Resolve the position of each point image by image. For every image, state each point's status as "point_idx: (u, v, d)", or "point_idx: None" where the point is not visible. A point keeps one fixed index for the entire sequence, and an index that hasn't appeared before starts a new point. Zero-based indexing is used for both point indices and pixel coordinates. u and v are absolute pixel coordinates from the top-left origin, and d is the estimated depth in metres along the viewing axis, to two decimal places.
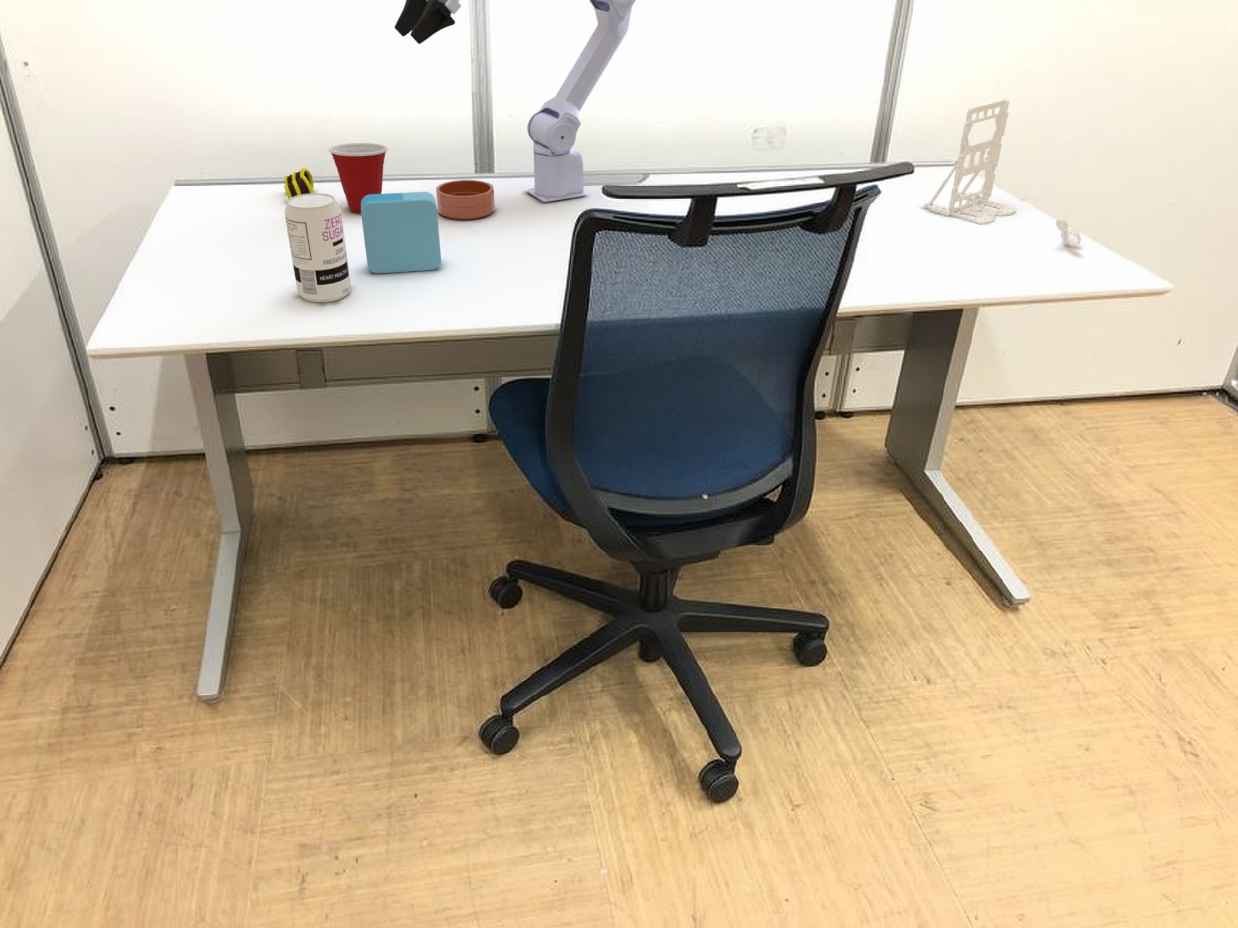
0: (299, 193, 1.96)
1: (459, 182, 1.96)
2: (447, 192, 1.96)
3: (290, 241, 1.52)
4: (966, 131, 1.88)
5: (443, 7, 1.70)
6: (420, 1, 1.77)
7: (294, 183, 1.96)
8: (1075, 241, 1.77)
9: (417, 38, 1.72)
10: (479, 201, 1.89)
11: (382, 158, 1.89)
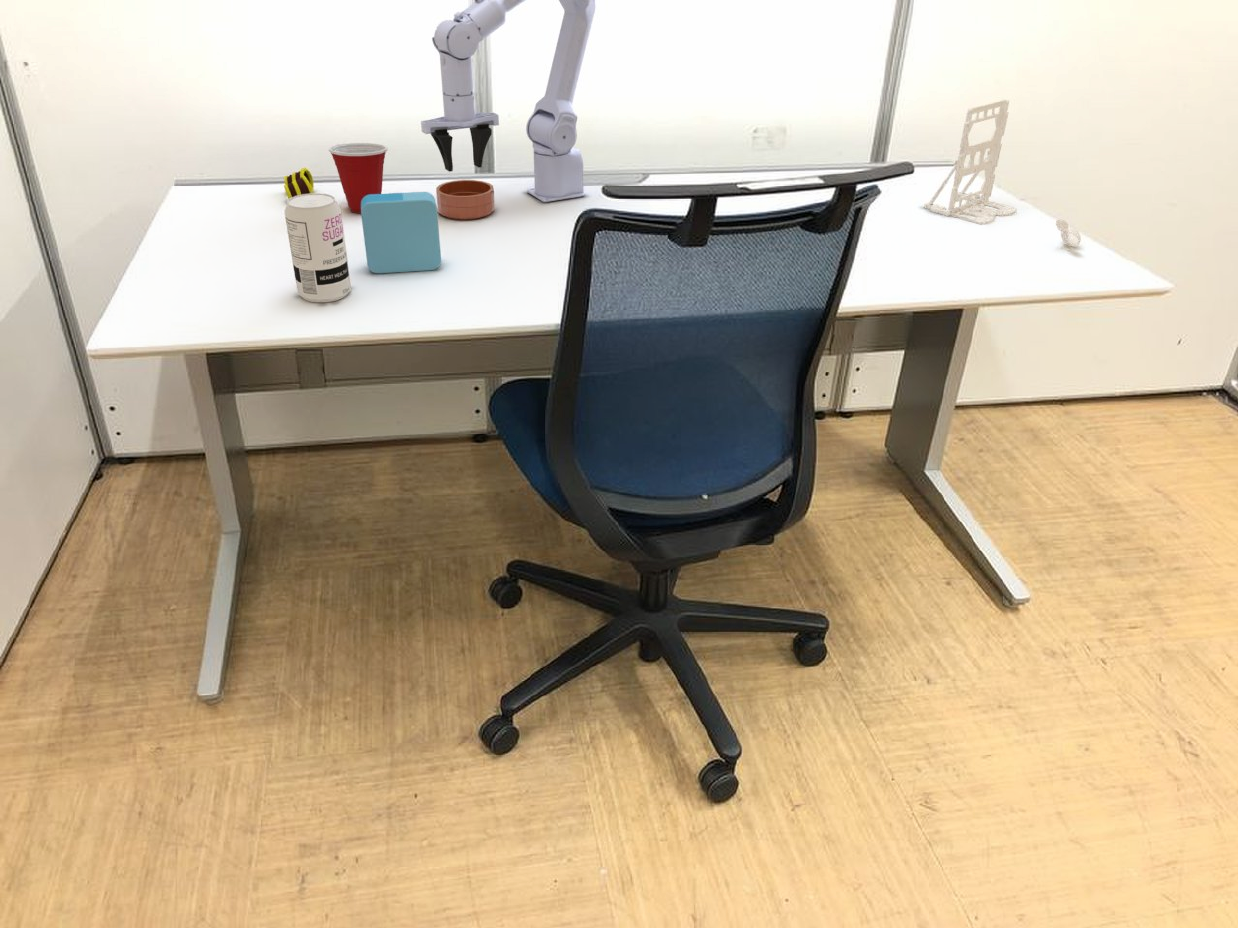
0: (299, 193, 1.96)
1: (459, 182, 1.96)
2: (447, 192, 1.96)
3: (290, 241, 1.52)
4: (966, 131, 1.88)
5: (488, 128, 1.88)
6: None
7: (294, 183, 1.96)
8: (1075, 241, 1.77)
9: None
10: (479, 201, 1.89)
11: (382, 158, 1.89)
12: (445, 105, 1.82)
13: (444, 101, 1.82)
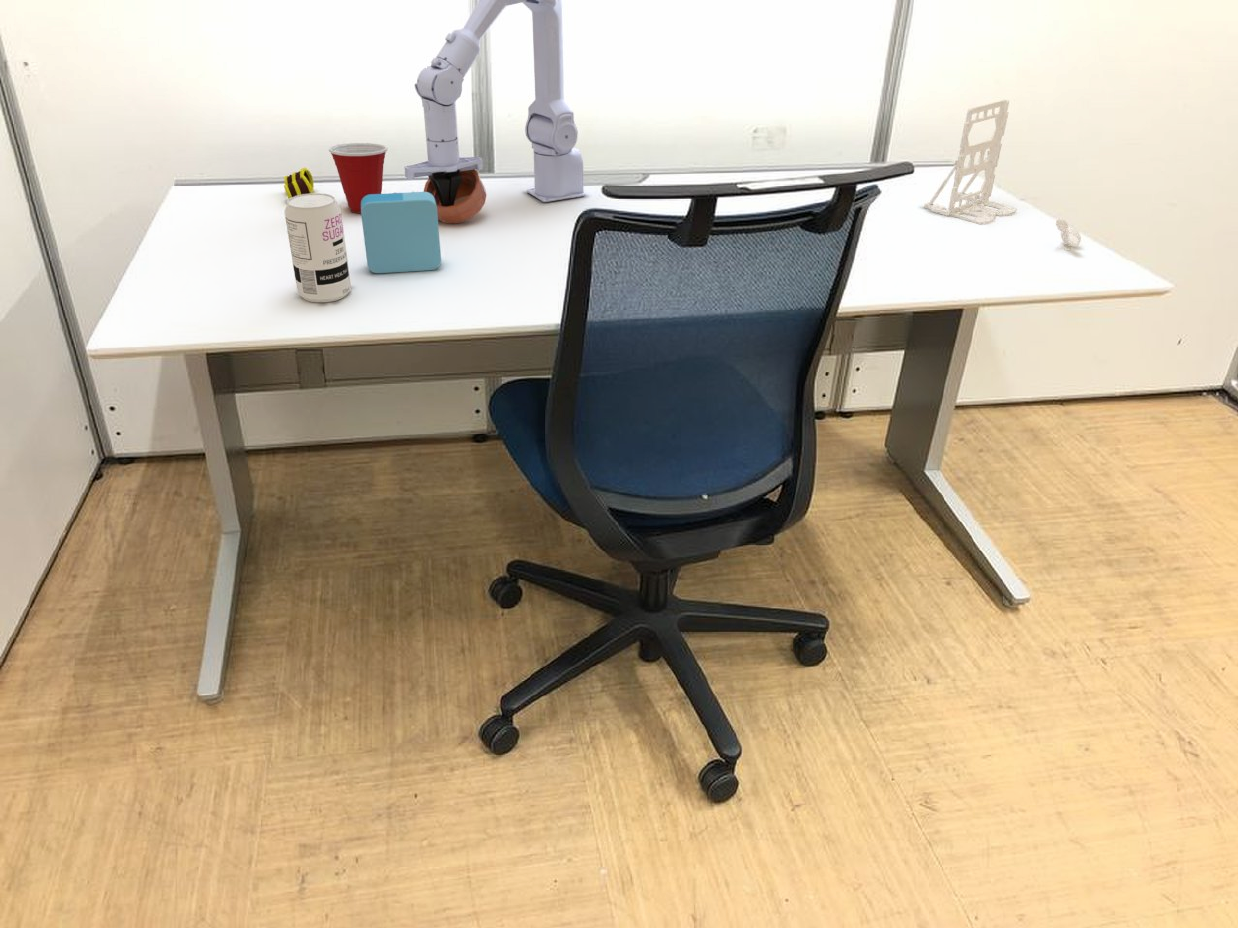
0: (299, 193, 1.96)
1: None
2: None
3: (290, 241, 1.52)
4: (966, 131, 1.88)
5: (459, 174, 1.86)
6: None
7: (294, 183, 1.96)
8: (1075, 241, 1.77)
9: None
10: (469, 205, 1.86)
11: (382, 158, 1.89)
12: (428, 150, 1.82)
13: (428, 146, 1.81)
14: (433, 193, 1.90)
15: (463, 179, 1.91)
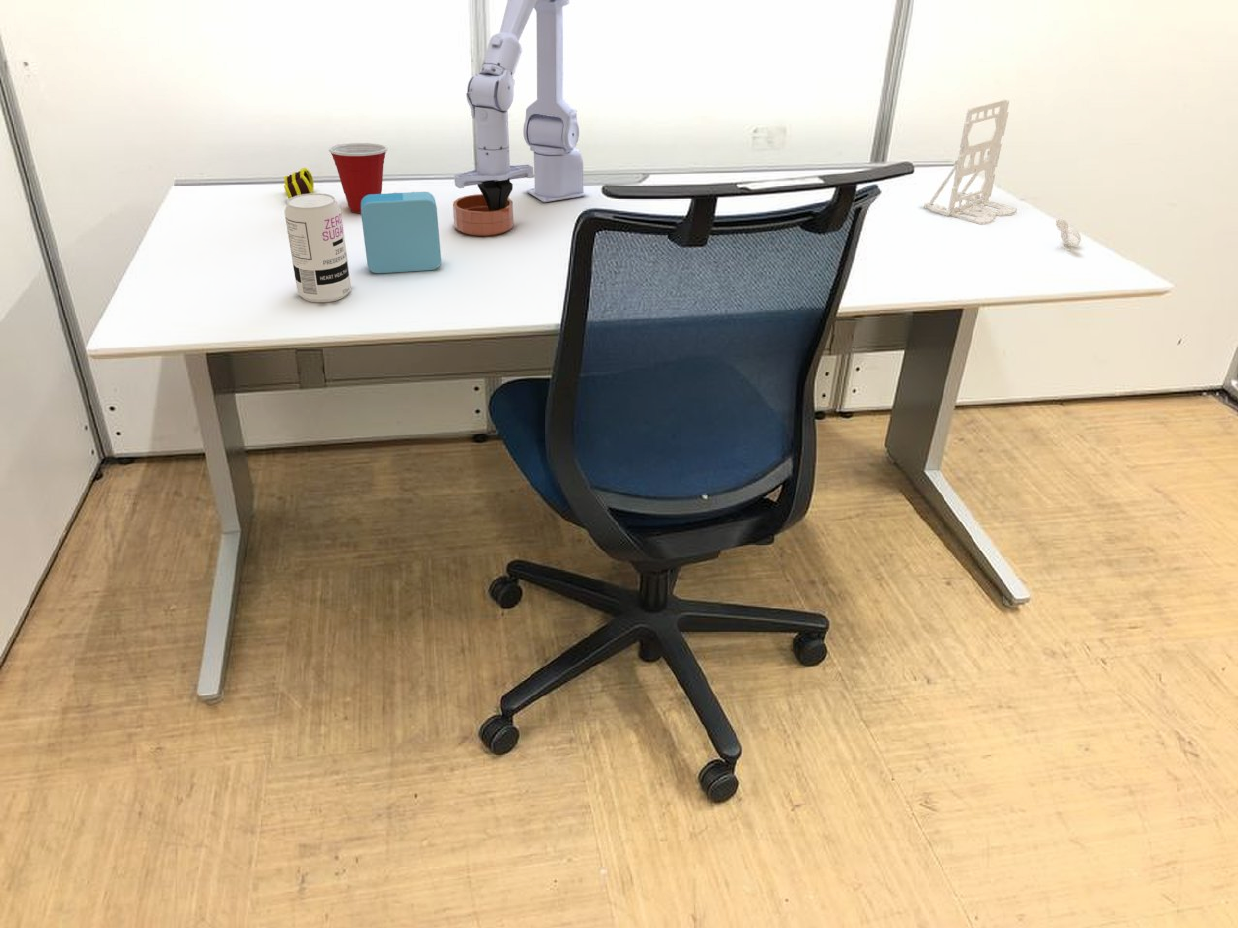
0: (299, 193, 1.96)
1: (471, 197, 1.88)
2: None
3: (290, 241, 1.52)
4: (966, 131, 1.88)
5: None
6: (495, 187, 1.81)
7: (294, 183, 1.96)
8: (1075, 241, 1.77)
9: None
10: (504, 215, 1.82)
11: (382, 158, 1.89)
12: (479, 158, 1.78)
13: (478, 154, 1.78)
14: None
15: (488, 211, 1.89)
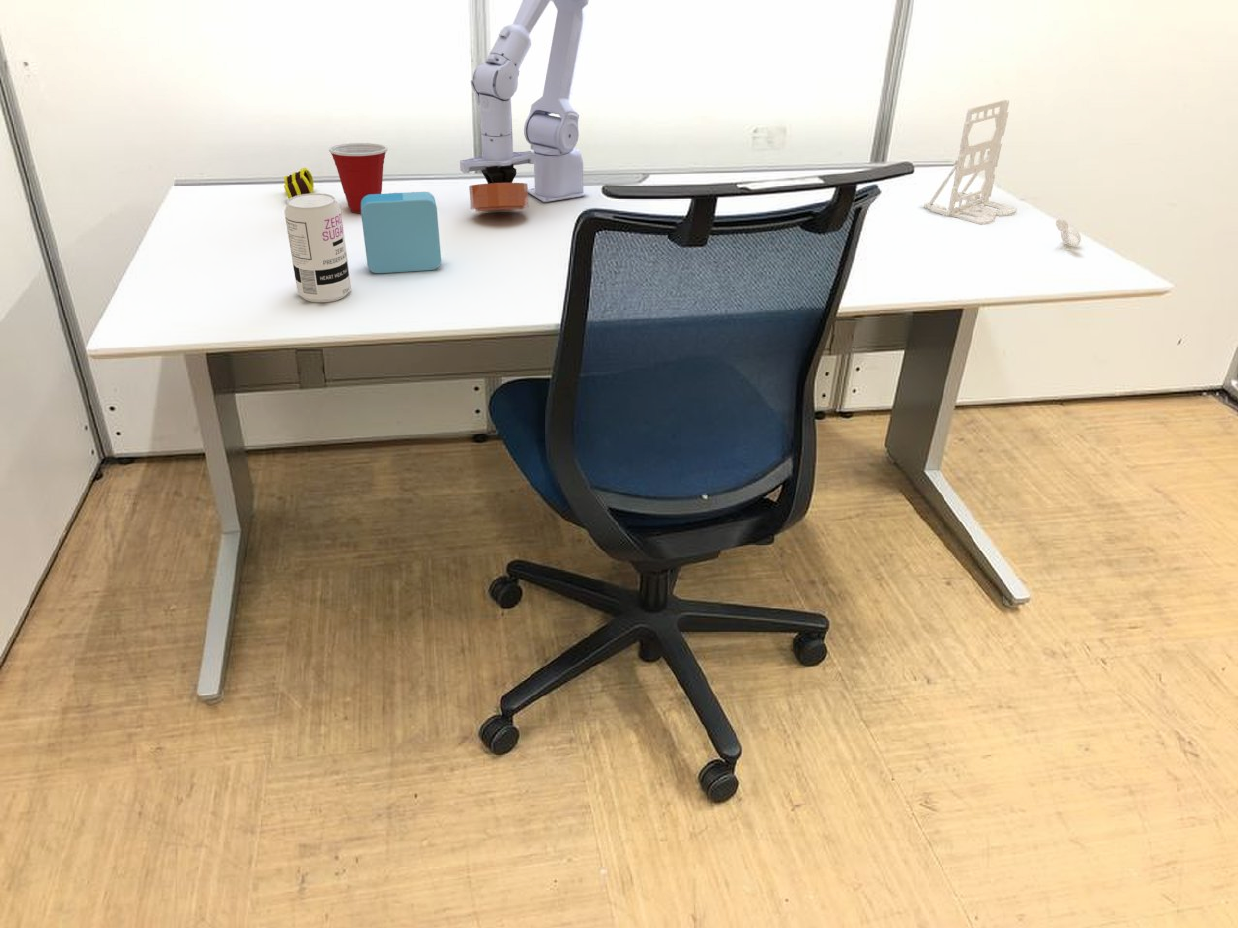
0: (299, 193, 1.96)
1: None
2: None
3: (290, 241, 1.52)
4: (966, 131, 1.88)
5: None
6: None
7: (294, 183, 1.96)
8: (1075, 241, 1.77)
9: None
10: (527, 190, 1.90)
11: (382, 158, 1.89)
12: (483, 144, 1.85)
13: (483, 141, 1.85)
14: None
15: None
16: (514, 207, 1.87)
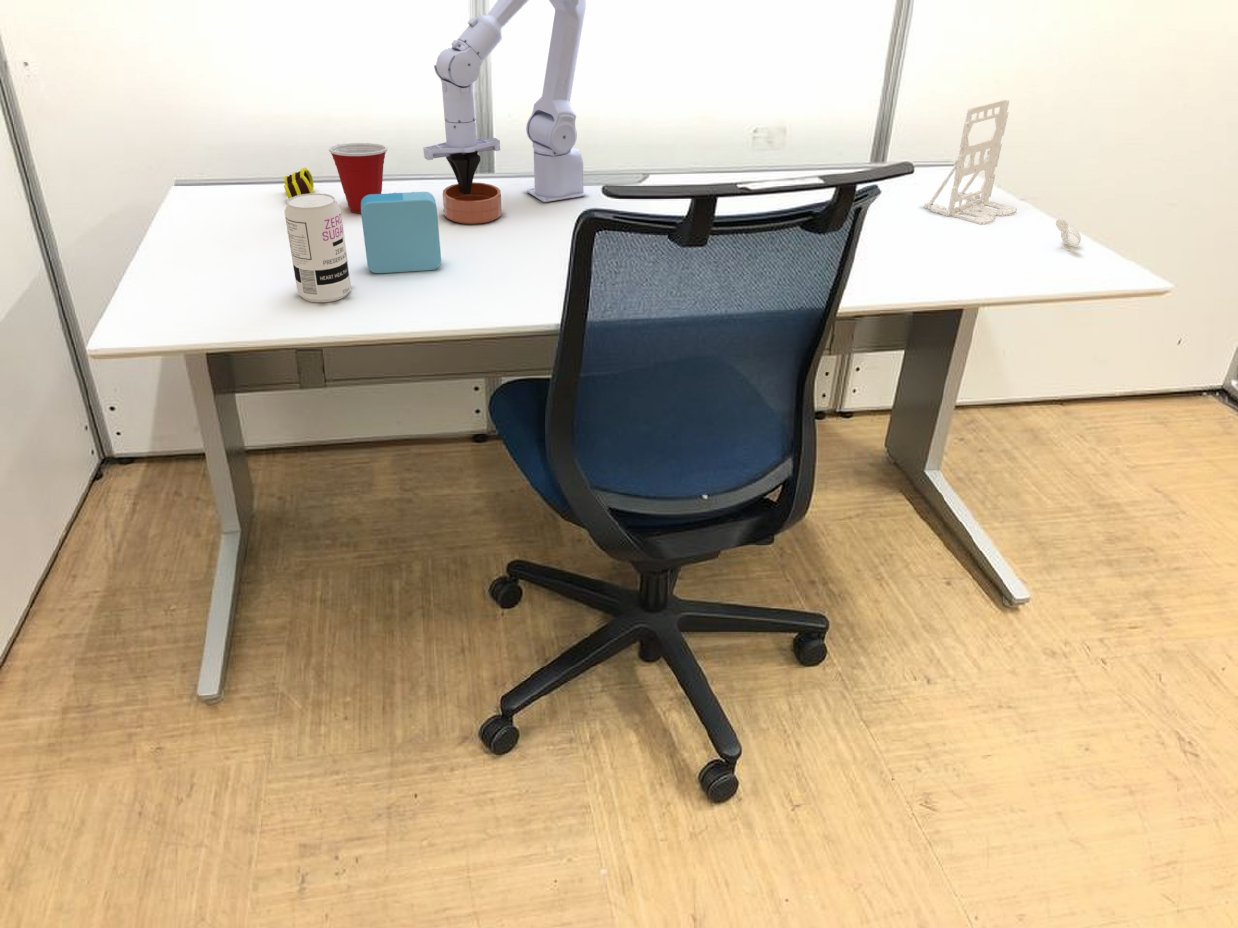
0: (299, 193, 1.96)
1: (447, 190, 1.91)
2: None
3: (290, 241, 1.52)
4: (966, 131, 1.88)
5: None
6: None
7: (294, 183, 1.96)
8: (1075, 241, 1.77)
9: None
10: (500, 198, 1.91)
11: (382, 158, 1.89)
12: (447, 131, 1.85)
13: (446, 127, 1.85)
14: None
15: (461, 199, 1.94)
16: (487, 221, 1.90)
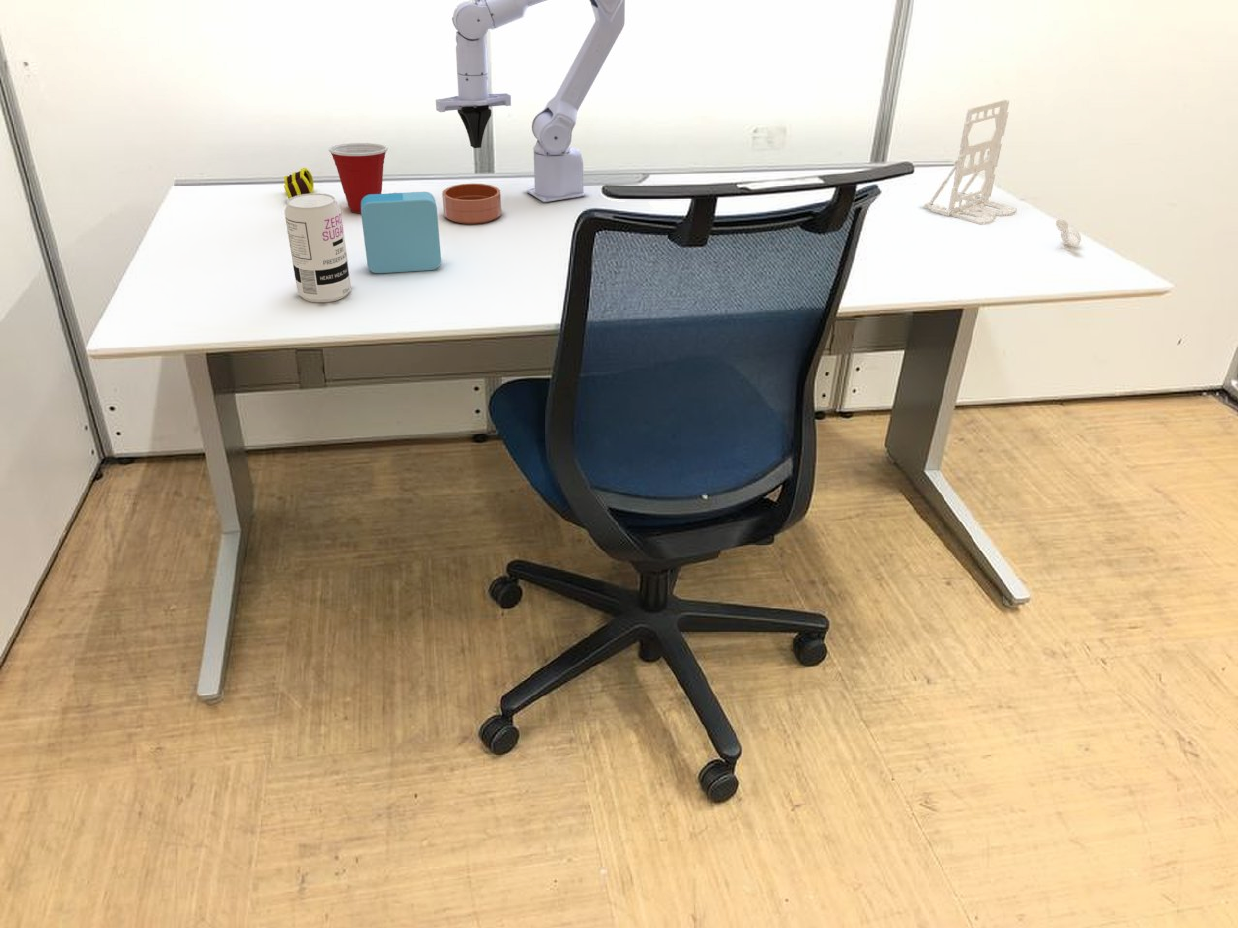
0: (299, 193, 1.96)
1: (447, 191, 1.91)
2: None
3: (290, 241, 1.52)
4: (966, 131, 1.88)
5: None
6: None
7: (294, 183, 1.96)
8: (1075, 241, 1.77)
9: None
10: (500, 198, 1.91)
11: (382, 158, 1.89)
12: (459, 84, 1.88)
13: (458, 80, 1.88)
14: None
15: None
16: (487, 220, 1.90)
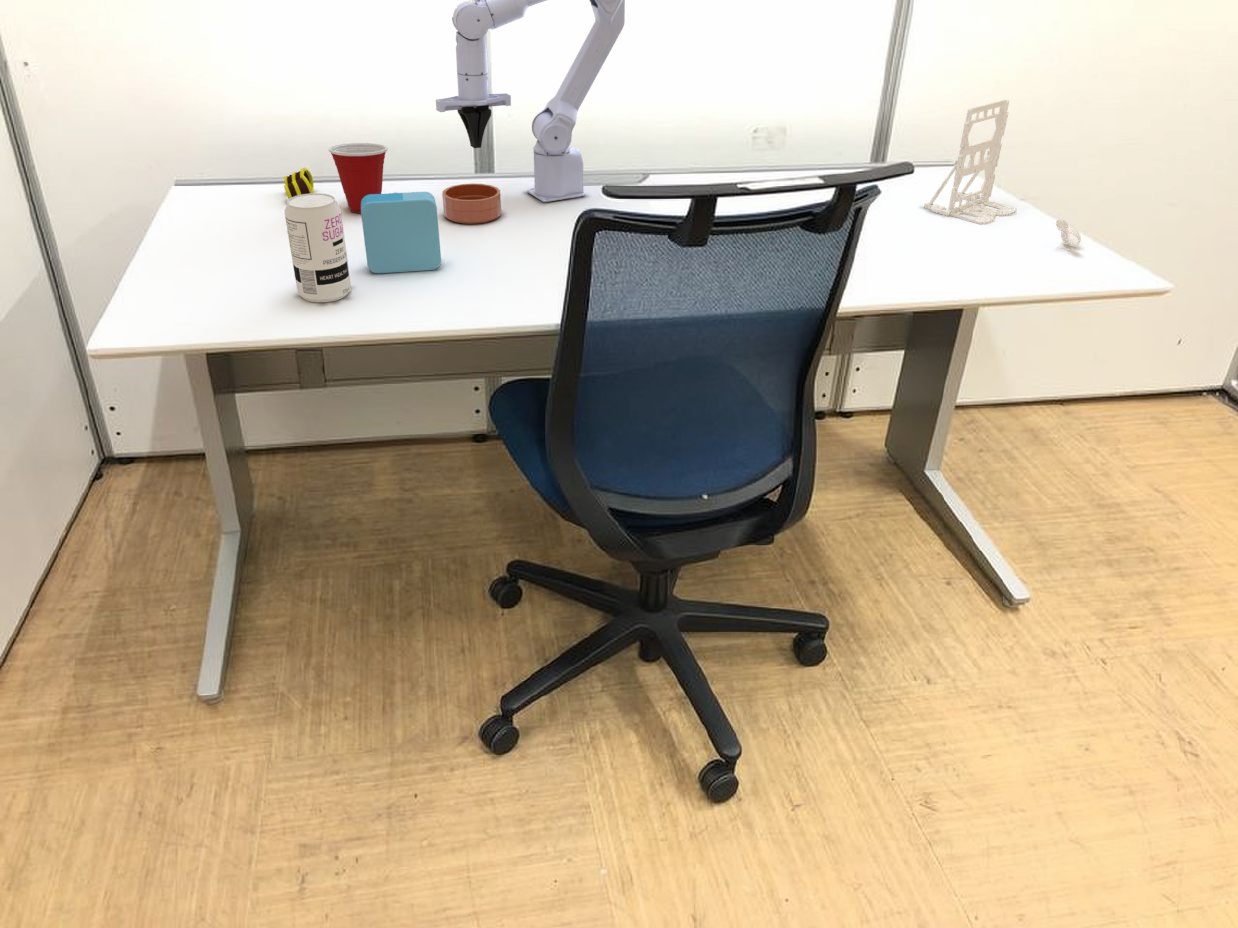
0: (299, 193, 1.96)
1: (447, 191, 1.91)
2: None
3: (290, 241, 1.52)
4: (966, 131, 1.88)
5: None
6: None
7: (294, 183, 1.96)
8: (1075, 241, 1.77)
9: None
10: (500, 198, 1.91)
11: (382, 158, 1.89)
12: (459, 84, 1.88)
13: (458, 80, 1.88)
14: None
15: None
16: (487, 220, 1.90)
